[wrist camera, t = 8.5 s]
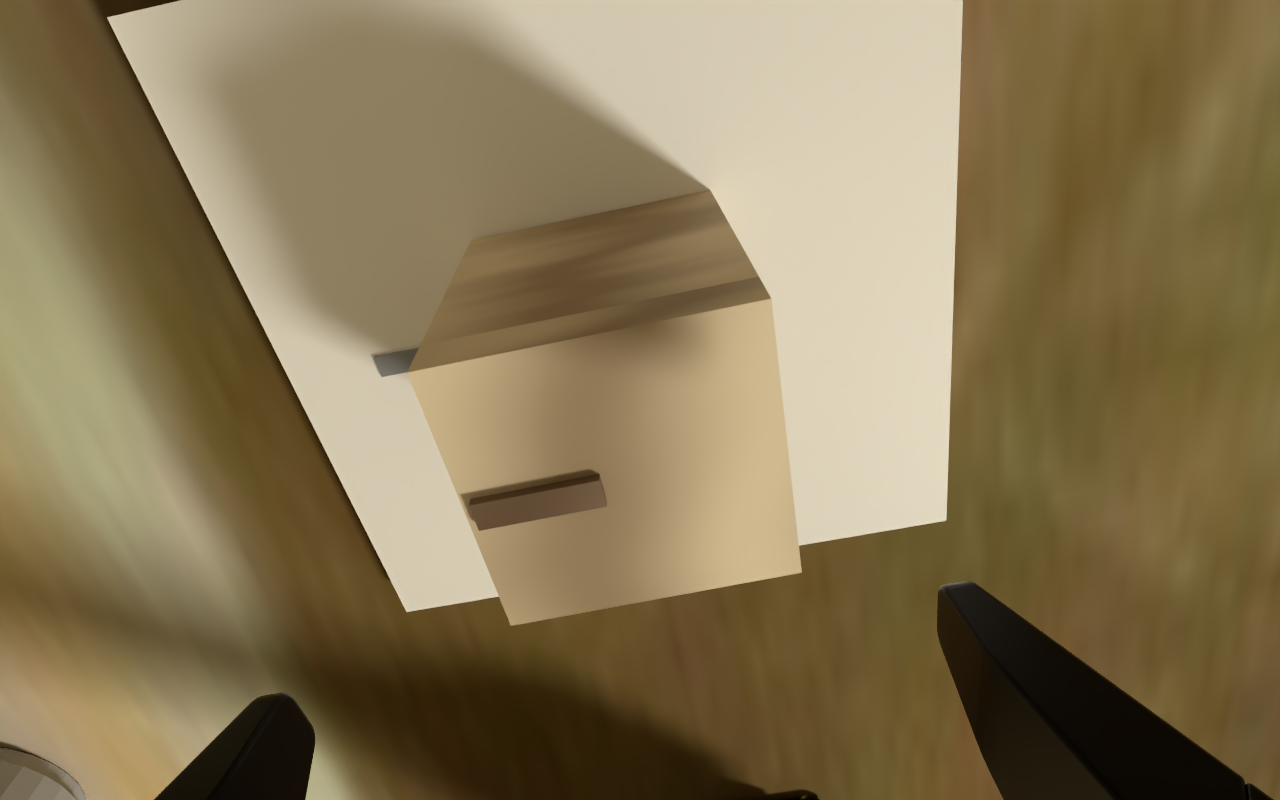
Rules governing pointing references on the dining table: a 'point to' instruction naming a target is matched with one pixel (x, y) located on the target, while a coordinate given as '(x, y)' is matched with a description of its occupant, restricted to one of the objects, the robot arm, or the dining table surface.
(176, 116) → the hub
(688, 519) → the cardboard box
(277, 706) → the robot arm
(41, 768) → the coffee cup
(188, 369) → the dining table surface
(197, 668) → the dining table surface
